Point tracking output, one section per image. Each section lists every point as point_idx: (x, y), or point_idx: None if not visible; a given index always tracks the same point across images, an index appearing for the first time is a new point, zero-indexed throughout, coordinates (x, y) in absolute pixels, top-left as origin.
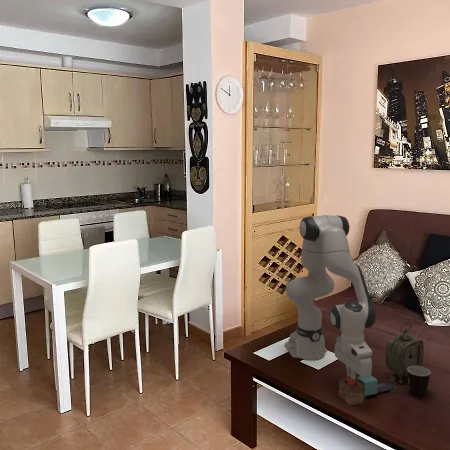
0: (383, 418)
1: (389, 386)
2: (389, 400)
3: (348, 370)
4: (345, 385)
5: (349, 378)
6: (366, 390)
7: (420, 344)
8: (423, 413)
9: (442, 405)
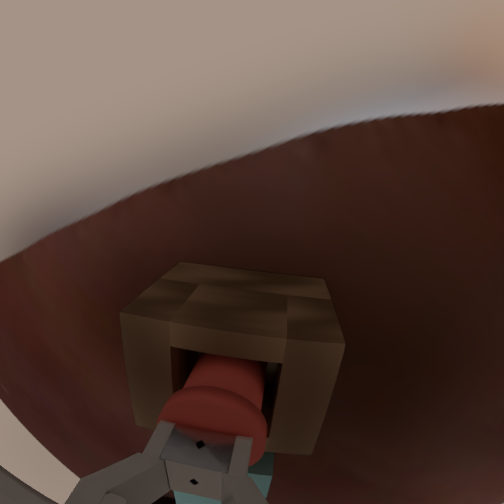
0: (47, 323)
1: None
2: None
3: (231, 496)
4: (212, 325)
5: (191, 412)
6: None
7: None
8: (68, 442)
9: None
